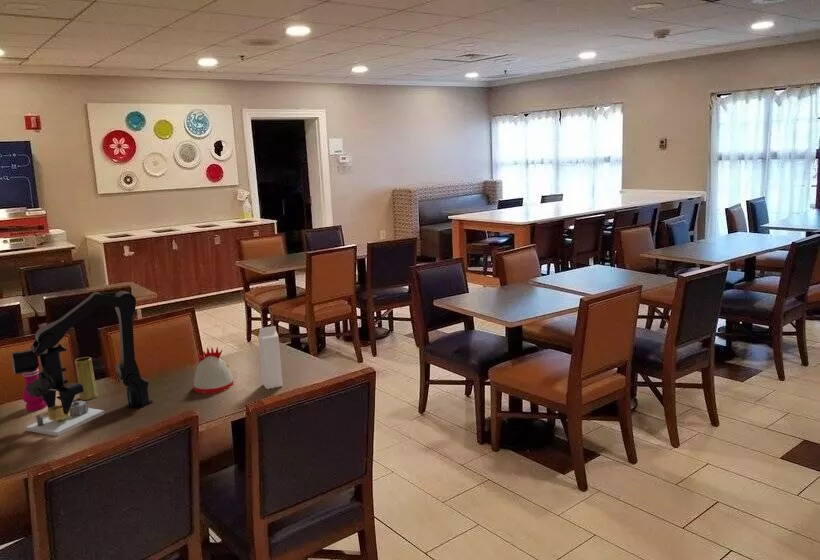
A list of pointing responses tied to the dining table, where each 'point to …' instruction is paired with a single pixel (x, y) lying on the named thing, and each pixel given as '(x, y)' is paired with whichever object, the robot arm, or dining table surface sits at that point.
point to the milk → (270, 357)
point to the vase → (86, 378)
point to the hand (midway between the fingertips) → (59, 412)
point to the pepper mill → (32, 402)
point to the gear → (57, 413)
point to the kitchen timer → (212, 373)
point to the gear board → (66, 420)
